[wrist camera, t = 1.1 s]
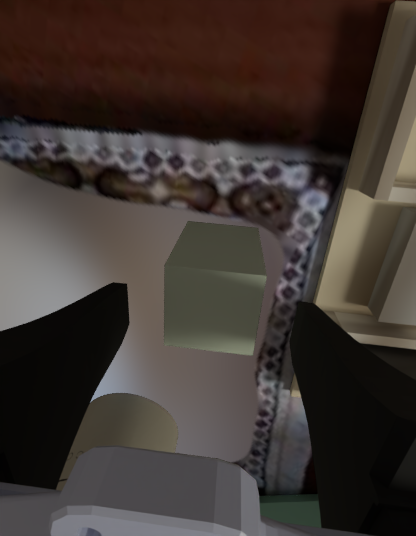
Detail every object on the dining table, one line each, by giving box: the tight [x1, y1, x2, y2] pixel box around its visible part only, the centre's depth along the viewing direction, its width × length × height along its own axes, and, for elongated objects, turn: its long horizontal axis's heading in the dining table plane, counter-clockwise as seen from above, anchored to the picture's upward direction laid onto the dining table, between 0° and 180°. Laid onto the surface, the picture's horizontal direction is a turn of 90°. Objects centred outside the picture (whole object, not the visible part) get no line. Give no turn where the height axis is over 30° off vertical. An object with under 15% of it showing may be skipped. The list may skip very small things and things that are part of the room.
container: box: [259, 494, 321, 528], centre depth 27 cm, size 6×6×25 cm
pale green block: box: [164, 221, 267, 356], centre depth 15 cm, size 4×4×6 cm
